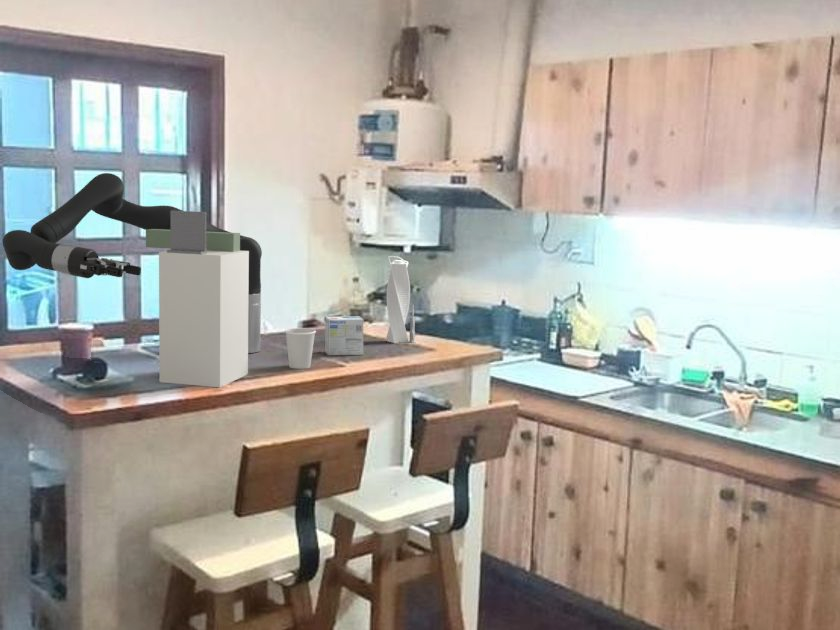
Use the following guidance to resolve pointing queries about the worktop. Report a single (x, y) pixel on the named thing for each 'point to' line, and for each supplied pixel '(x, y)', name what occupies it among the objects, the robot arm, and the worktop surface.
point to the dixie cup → (300, 347)
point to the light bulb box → (344, 335)
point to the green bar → (213, 240)
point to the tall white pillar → (203, 317)
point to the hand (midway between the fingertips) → (131, 272)
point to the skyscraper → (399, 303)
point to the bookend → (188, 232)
